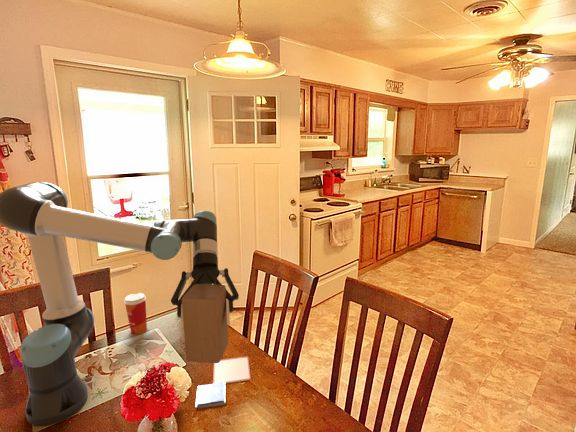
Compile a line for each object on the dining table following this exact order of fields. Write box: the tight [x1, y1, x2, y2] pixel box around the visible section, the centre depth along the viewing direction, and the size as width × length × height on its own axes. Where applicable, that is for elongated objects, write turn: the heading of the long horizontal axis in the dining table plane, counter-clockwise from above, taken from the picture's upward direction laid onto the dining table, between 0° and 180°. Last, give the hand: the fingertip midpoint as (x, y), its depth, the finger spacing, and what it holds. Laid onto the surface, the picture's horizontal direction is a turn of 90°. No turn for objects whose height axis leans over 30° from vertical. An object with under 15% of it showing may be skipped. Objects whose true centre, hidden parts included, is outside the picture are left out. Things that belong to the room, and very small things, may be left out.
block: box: [182, 284, 229, 364], centre depth 97 cm, size 10×10×20 cm
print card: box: [212, 355, 252, 385], centre depth 113 cm, size 12×12×1 cm
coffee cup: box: [123, 292, 148, 335], centre depth 137 cm, size 8×8×15 cm
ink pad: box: [195, 382, 227, 410], centre depth 102 cm, size 8×8×1 cm
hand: (205, 326), depth 94 cm, fingers closed on block, 12 cm apart
